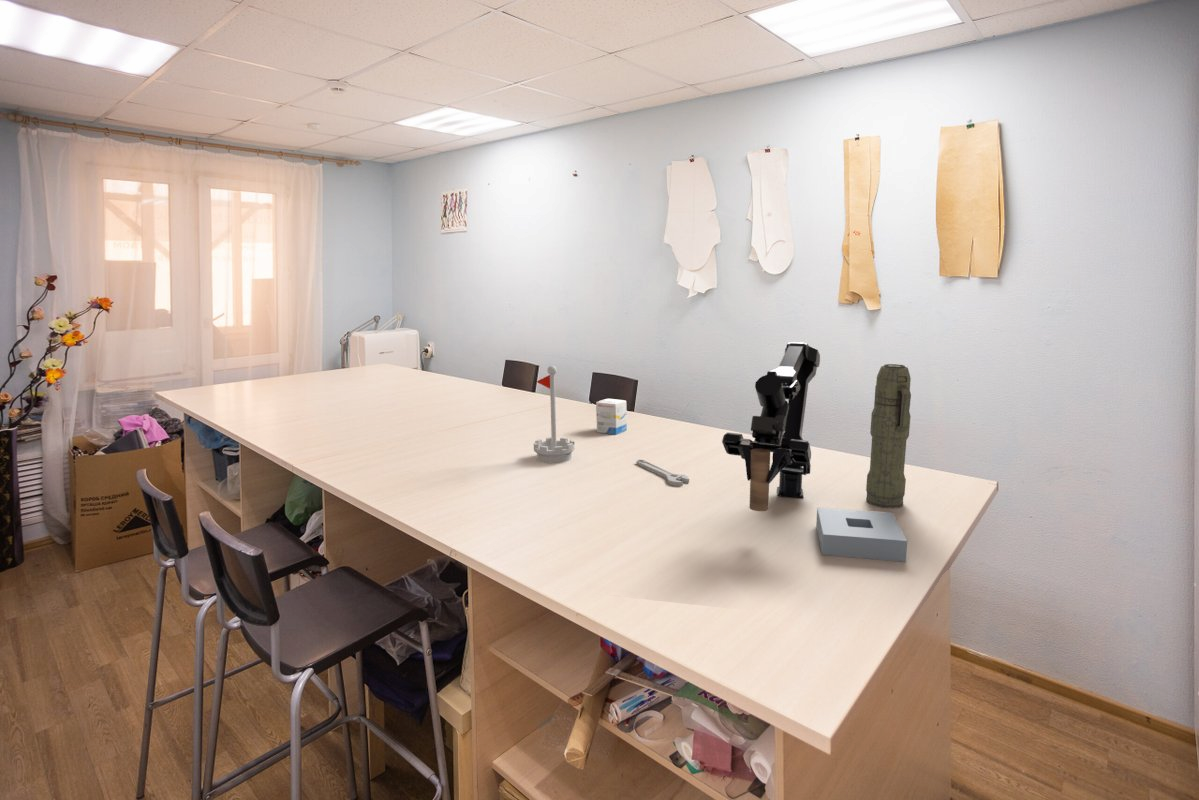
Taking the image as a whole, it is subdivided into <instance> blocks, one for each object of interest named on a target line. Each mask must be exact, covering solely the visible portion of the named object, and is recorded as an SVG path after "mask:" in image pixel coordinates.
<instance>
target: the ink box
mask: <svg viewBox="0 0 1199 800" xmlns="http://www.w3.org/2000/svg"><path fill="white" fill-rule="evenodd" d="M595 408H596V409H595V410H596V411H595V412H596V415H595V416H596V433H602V434H609V435H618V434H620V433H624V432H625V431H627V424H628V423H627V418H628V417H627V400H624V399H615V398H605V399H602V400H599V401H596V402H595Z"/></svg>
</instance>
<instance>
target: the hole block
mask: <svg viewBox="0 0 1199 800" xmlns="http://www.w3.org/2000/svg"><path fill="white" fill-rule="evenodd" d="M815 526H816V530H817V531H816V533H817V535H818V536H817V537H818V541H819V546H820V551H821V555H823V556H831V557H832V556H834V557H843V558H844V557H845V558H846V557H847V558H856V559H869V560H882V561H889V562H890V561H893V562H901V563H906V561H907V549H908V540H907V537H906V536H905V533H904V532H903V530H902V528H901V526H900V524H899V522H898V520H897V519H896V517H895V515H894V513H893V512H891V511H890V512H887V511H875V510H874V511H871V510H861V509H860V510H858V509H847V508H845V509H843V508H831V507H816V525H815Z"/></svg>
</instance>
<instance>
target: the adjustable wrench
mask: <svg viewBox="0 0 1199 800" xmlns="http://www.w3.org/2000/svg"><path fill="white" fill-rule="evenodd" d="M636 465H637V466H640V467H642V468H643V469H645V470H648V471H650V472H652V473H654V474H657V476H660V477H662V478H664V479H665V480H666V481H667V484H668V485H670V486H673V487H674V486H675V487H683V484H684V483H686V484H690V477H689V476H687V475H686V474H679V473H673V472H670V471H668V470H666V469H664V468H662V467H660V466H657V465H655V464H653V463H652V462H649V461H647V460H645V459H636Z"/></svg>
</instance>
